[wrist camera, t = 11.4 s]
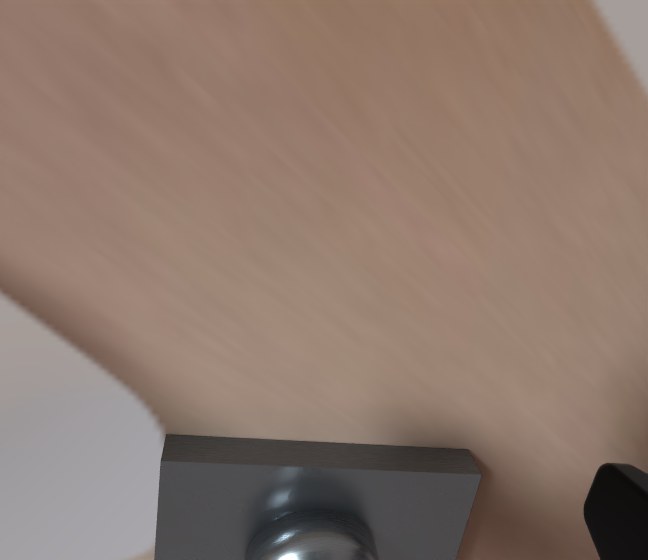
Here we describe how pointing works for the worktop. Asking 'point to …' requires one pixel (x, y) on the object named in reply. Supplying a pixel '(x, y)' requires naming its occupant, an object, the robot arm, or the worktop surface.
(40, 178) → the worktop surface
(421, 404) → the worktop surface
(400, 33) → the worktop surface
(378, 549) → the post stand
